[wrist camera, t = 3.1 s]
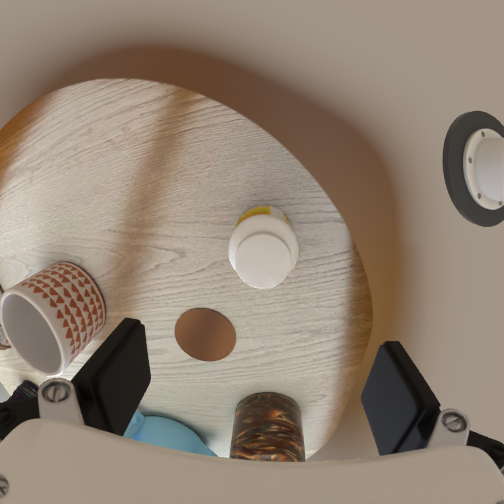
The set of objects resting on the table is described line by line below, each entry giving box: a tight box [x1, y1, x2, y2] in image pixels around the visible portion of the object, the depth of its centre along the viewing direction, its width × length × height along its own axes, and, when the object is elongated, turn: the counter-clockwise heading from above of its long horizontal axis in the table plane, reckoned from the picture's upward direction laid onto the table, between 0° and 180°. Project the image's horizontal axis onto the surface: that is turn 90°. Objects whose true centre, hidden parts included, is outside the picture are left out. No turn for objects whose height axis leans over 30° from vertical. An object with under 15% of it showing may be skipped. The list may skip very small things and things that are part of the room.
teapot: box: [123, 411, 218, 457], centre depth 41 cm, size 19×19×14 cm
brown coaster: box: [175, 308, 236, 361], centre depth 40 cm, size 9×9×1 cm
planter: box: [0, 262, 105, 377], centre depth 34 cm, size 14×14×13 cm
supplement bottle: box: [228, 205, 299, 289], centre depth 29 cm, size 7×7×13 cm
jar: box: [229, 393, 305, 462], centre depth 37 cm, size 12×12×15 cm
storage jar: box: [5, 380, 39, 402], centre depth 42 cm, size 10×10×15 cm
